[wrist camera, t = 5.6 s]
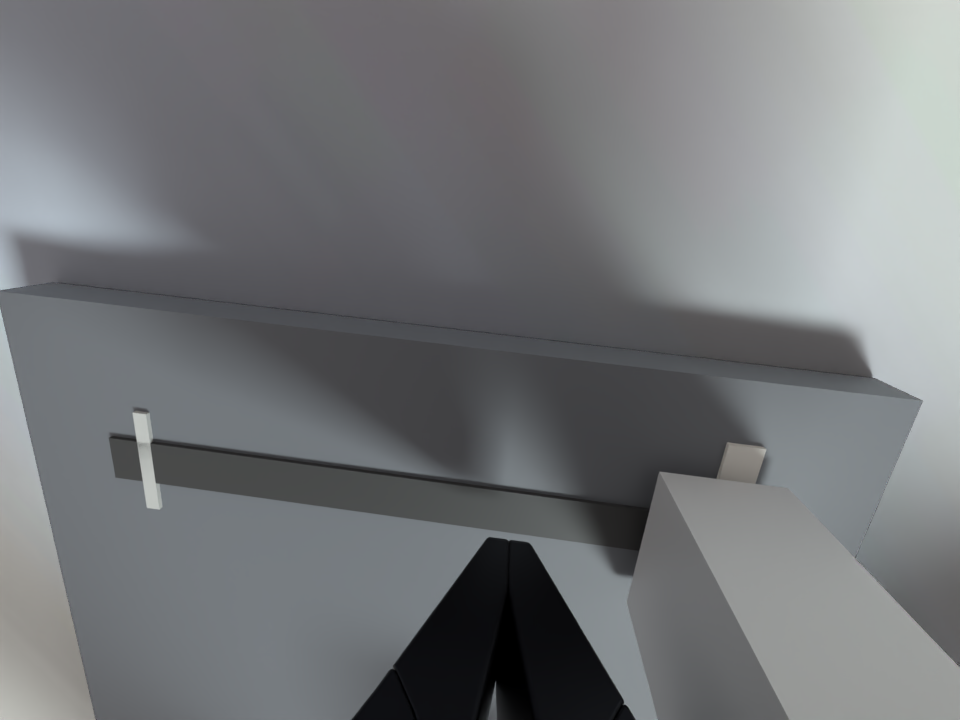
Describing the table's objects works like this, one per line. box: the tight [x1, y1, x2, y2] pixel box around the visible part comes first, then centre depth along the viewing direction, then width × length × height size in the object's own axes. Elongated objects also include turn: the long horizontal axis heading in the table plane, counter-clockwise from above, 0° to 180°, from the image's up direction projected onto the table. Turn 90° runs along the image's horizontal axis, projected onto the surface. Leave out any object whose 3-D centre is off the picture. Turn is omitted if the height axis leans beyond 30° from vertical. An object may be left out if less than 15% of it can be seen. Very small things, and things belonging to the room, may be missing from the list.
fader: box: [627, 471, 960, 720], centre depth 7 cm, size 3×2×6 cm
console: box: [0, 282, 923, 720], centre depth 12 cm, size 18×18×1 cm
